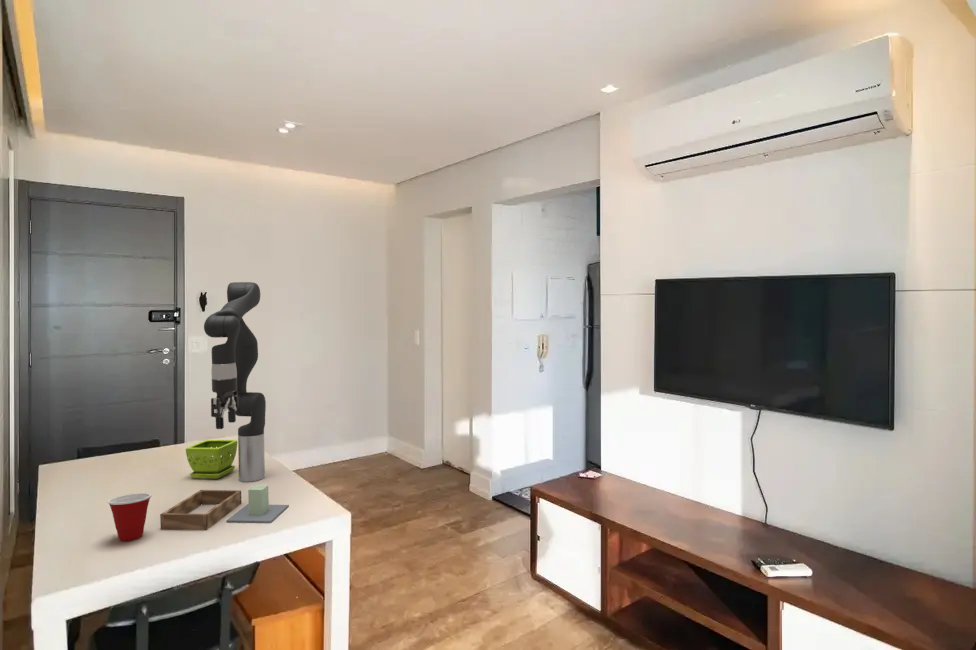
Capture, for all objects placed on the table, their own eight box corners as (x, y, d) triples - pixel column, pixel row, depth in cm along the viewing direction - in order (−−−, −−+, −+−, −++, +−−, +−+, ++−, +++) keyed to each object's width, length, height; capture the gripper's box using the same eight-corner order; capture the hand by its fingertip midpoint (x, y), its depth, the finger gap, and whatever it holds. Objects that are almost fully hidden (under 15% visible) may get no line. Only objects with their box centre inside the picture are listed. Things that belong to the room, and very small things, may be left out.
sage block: (255, 509, 184) (254, 485, 184) (268, 509, 184) (268, 485, 184) (248, 514, 180) (248, 489, 179) (262, 514, 179) (262, 489, 179)
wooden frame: (200, 503, 192) (200, 489, 191) (241, 503, 191) (241, 490, 191) (160, 529, 170) (160, 514, 169) (206, 530, 169) (206, 515, 169)
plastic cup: (152, 527, 171) (151, 487, 171) (152, 540, 162) (151, 498, 161) (109, 534, 166) (108, 494, 165) (106, 548, 156) (105, 505, 156)
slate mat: (247, 505, 189) (247, 504, 189) (288, 506, 188) (288, 504, 188) (226, 522, 175) (226, 520, 175) (270, 523, 174) (270, 521, 174)
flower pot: (239, 470, 228) (238, 439, 228) (219, 481, 214) (219, 448, 214) (206, 469, 230) (205, 438, 229) (184, 480, 216) (184, 447, 215)
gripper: (223, 373, 193) (224, 420, 194) (201, 380, 178) (203, 431, 180) (245, 373, 193) (246, 420, 194) (225, 380, 178) (227, 431, 180)
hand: (226, 425), depth 187 cm, fingers open, 8 cm apart
